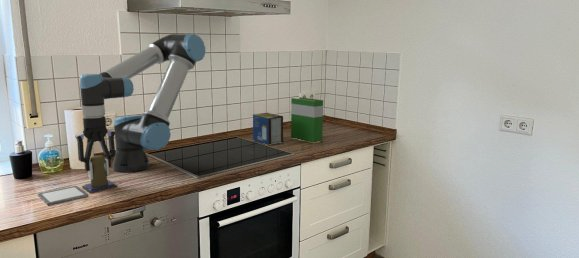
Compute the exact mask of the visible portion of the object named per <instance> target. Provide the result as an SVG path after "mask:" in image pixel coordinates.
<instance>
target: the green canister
mask: <svg viewBox="0 0 579 258" xmlns="http://www.w3.org/2000/svg"><path fill="white" fill-rule="evenodd" d="M290 101H291V102H290V103H291V110H290V111H291V113H290V116H291V118H290V121H291V122H290V130H291V131H290V138H291V137H292V138H297V139H301V140H305V141H310V142H317V141H321V140H322V141H323V127H324V125H323V124H324V122H323V121H324V100H323V99H316V98H309V97H308V98H307V97H302V96H299V98H294V97H293V98H292V97H291V100H290Z"/></svg>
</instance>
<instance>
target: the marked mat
mask: <svg viewBox="0 0 579 258" xmlns="http://www.w3.org/2000/svg"><path fill="white" fill-rule="evenodd" d="M37 196H38V198H40V199H41V201H42V202H44V203H45V204H46V205H47V206H52V205H58V204H60V203H65V202H69V201H73V200H78V199H84V198H87V197H89V193H88V192H87V191H85V190H84V189H83V188H82V189H81V188H80V187H79V186H78V185H73V186H68V187H63V188H59V189H53V190H49V191H43V192H38V193H37Z"/></svg>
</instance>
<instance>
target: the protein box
mask: <svg viewBox="0 0 579 258" xmlns="http://www.w3.org/2000/svg"><path fill="white" fill-rule="evenodd" d="M253 140H255V141H254V142H256V141H258V142H257V143H259V142H261V143H260V144H262V143H265V144H268V145H269V144H274V143H279V142H283V143H284V115H279V114H274V113H270V112H262V113H253V114H252V141H253ZM265 144H264V145H265ZM268 145H267V146H268ZM269 146H270V145H269Z"/></svg>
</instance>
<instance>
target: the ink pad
mask: <svg viewBox="0 0 579 258" xmlns="http://www.w3.org/2000/svg"><path fill="white" fill-rule="evenodd" d="M107 180H108V184H107V185H105V186H100V187H93V186H91V182H90V183H86V184H84V185H82V186H81V187H82V190H84V191H85V192H87V193H88V194H93V193H97V192H102V191H105V190H111V189H115V188H118V184H116V183H114V182H113V181H111V180H110V179H107Z"/></svg>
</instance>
